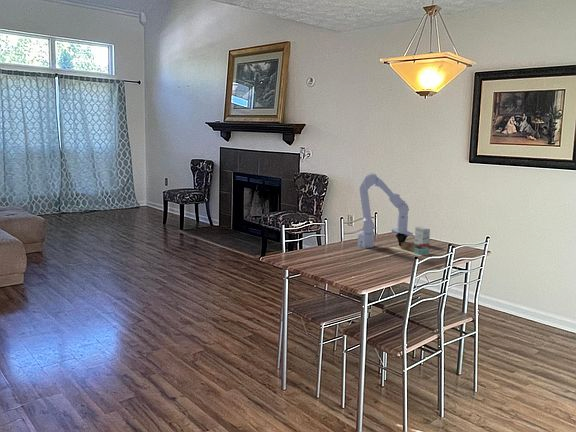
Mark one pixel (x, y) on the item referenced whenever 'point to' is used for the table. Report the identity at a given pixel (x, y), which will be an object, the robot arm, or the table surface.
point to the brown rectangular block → (410, 246)
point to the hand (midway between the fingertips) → (401, 246)
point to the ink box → (422, 236)
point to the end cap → (421, 251)
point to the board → (405, 250)
